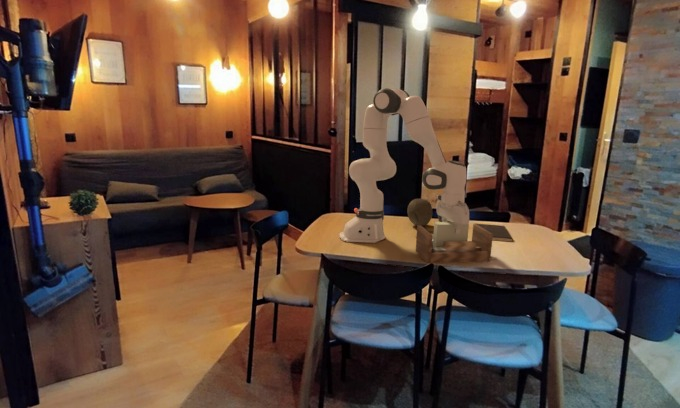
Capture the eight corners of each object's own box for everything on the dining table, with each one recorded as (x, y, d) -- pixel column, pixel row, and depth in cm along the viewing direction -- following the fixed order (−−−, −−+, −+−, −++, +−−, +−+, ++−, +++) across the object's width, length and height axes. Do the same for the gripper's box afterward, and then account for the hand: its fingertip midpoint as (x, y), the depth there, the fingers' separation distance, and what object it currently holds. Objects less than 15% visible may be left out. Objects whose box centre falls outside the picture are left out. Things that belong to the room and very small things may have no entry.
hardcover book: (478, 239, 201) (479, 235, 201) (474, 227, 223) (474, 223, 222) (512, 242, 198) (513, 238, 197) (504, 229, 220) (505, 225, 219)
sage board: (435, 255, 176) (437, 224, 173) (432, 252, 180) (434, 222, 177) (466, 254, 178) (468, 224, 175) (462, 251, 182) (464, 221, 178)
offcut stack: (433, 261, 169) (435, 244, 168) (430, 258, 173) (432, 241, 171) (479, 260, 172) (480, 243, 170) (475, 257, 175) (476, 241, 174)
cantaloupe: (437, 227, 219) (439, 200, 216) (416, 230, 213) (418, 202, 210) (421, 221, 232) (423, 195, 228) (400, 223, 225) (402, 197, 222)
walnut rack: (426, 263, 167) (428, 235, 164) (415, 250, 181) (417, 225, 179) (489, 261, 170) (492, 233, 168) (473, 249, 185) (476, 224, 182)
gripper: (474, 204, 164) (471, 236, 168) (447, 194, 184) (445, 223, 187) (461, 204, 163) (458, 237, 166) (435, 194, 182) (432, 224, 185)
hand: (451, 230), depth 176 cm, fingers open, 8 cm apart
